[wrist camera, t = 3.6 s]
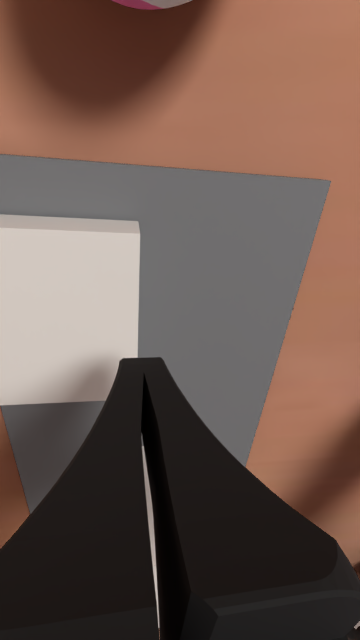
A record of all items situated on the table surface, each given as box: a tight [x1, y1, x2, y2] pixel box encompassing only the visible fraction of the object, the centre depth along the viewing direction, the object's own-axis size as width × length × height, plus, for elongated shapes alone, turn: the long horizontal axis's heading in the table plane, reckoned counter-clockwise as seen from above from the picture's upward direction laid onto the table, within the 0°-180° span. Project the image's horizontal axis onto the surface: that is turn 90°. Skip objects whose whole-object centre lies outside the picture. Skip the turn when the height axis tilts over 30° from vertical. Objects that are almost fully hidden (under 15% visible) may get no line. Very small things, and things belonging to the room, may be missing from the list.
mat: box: [0, 154, 331, 514], centre depth 19 cm, size 15×26×1 cm, turn 175°
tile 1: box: [0, 214, 140, 405], centre depth 14 cm, size 2×8×6 cm
